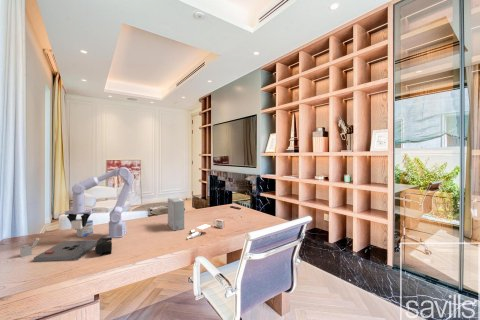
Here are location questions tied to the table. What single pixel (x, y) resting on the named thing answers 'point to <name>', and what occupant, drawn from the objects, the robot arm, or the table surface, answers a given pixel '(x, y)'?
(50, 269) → the table surface
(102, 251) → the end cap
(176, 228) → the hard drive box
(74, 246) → the socket
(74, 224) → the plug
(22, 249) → the grey angled bar block
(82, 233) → the medicine box
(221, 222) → the white jointed pieces
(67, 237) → the table surface
